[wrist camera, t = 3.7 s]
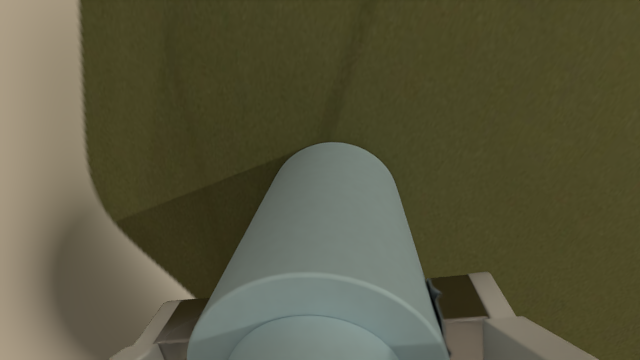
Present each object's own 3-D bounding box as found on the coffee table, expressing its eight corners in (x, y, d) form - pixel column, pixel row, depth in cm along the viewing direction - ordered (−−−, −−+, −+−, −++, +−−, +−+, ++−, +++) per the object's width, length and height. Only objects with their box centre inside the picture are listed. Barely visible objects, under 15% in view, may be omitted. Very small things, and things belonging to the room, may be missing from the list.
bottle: (258, 151, 15) (-30, 507, 4) (391, 132, 15) (554, 501, 3) (285, 263, 17) (152, 724, 6) (403, 250, 17) (529, 752, 5)
